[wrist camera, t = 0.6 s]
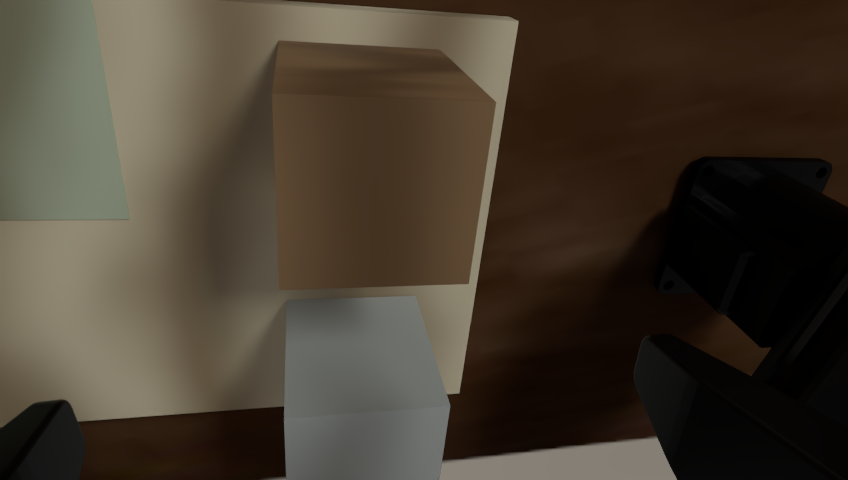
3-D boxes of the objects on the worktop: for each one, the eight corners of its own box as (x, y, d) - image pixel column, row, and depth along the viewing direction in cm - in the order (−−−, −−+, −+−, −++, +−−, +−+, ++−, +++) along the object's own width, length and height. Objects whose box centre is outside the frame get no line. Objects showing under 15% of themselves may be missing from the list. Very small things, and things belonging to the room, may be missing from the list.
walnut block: (439, 49, 18) (496, 101, 13) (425, 192, 21) (468, 284, 16) (278, 40, 17) (271, 93, 12) (283, 192, 20) (279, 290, 14)
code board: (508, 16, 19) (519, 21, 18) (454, 377, 27) (459, 393, 26) (-213, -35, 15) (-245, -32, 14) (-35, 411, 23) (-48, 431, 22)
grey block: (415, 295, 23) (450, 405, 18) (406, 389, 25) (434, 510, 20) (286, 300, 22) (283, 418, 17) (289, 397, 24) (288, 528, 19)
